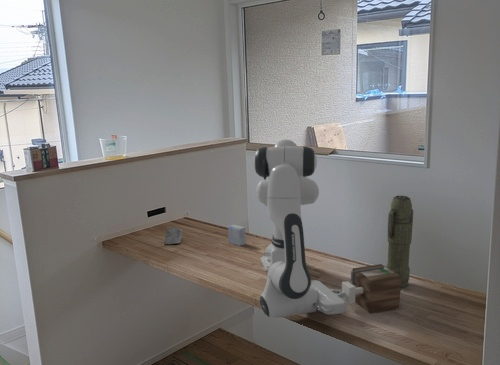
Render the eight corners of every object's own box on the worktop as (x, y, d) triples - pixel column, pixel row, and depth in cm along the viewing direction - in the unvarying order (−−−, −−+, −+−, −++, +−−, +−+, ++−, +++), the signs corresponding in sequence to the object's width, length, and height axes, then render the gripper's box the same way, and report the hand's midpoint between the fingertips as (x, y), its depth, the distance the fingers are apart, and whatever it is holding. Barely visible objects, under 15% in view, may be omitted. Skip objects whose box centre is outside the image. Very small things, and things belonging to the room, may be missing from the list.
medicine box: (245, 244, 236) (245, 227, 235) (239, 246, 233) (239, 229, 231) (234, 240, 242) (234, 224, 240) (228, 243, 238) (227, 226, 237)
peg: (341, 298, 169) (342, 269, 167) (380, 291, 175) (381, 264, 173) (348, 304, 165) (350, 275, 163) (388, 297, 170) (390, 269, 168)
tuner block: (351, 299, 175) (352, 267, 173) (379, 294, 179) (381, 263, 177) (369, 313, 164) (371, 280, 162) (399, 308, 168) (401, 275, 166)
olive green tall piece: (415, 283, 189) (421, 196, 182) (397, 291, 182) (402, 201, 175) (396, 276, 196) (401, 192, 189) (378, 284, 188) (382, 197, 181)
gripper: (322, 303, 152) (360, 297, 156) (295, 279, 170) (329, 274, 175) (321, 322, 153) (359, 315, 157) (294, 296, 172) (329, 290, 176)
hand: (343, 293), depth 166 cm, fingers closed
